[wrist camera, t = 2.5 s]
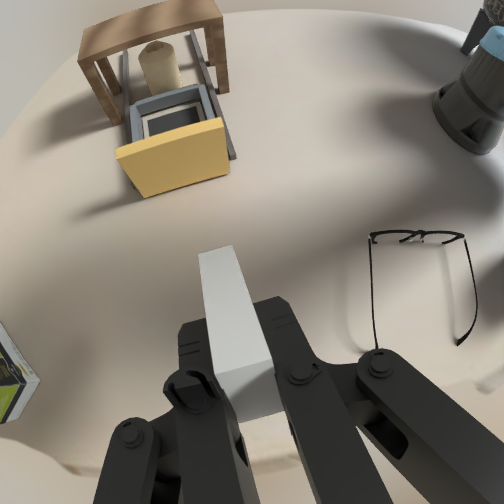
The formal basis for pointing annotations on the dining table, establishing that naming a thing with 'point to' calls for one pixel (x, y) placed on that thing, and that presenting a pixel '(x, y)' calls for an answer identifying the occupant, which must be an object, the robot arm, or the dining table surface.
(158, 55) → the candle
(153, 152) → the yellow panel grey frame
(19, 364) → the tea box
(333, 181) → the dining table surface
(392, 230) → the eyeglasses
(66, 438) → the dining table surface
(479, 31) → the planter
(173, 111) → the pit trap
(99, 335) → the dining table surface
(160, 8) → the wooden stand with rails
